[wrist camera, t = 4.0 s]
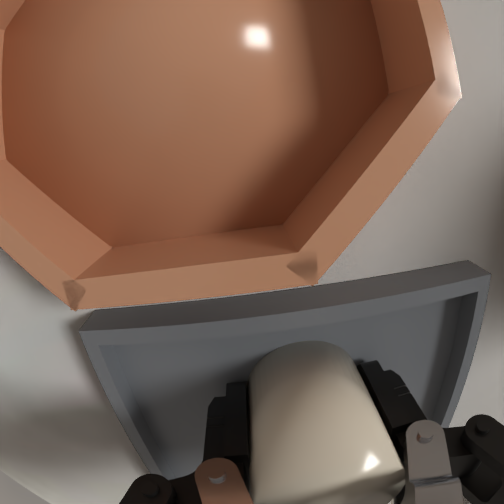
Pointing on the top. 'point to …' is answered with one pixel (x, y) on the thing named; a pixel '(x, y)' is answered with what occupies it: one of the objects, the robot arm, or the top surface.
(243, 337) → the tray
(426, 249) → the top surface
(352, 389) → the pebble
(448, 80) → the terracotta bowl
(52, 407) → the top surface
